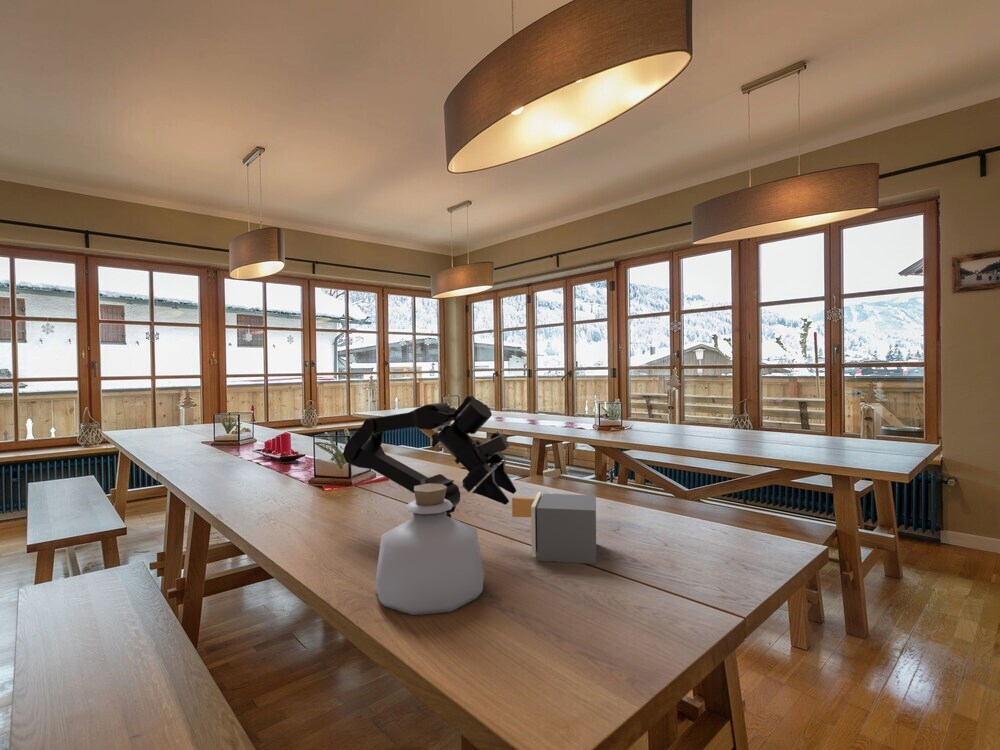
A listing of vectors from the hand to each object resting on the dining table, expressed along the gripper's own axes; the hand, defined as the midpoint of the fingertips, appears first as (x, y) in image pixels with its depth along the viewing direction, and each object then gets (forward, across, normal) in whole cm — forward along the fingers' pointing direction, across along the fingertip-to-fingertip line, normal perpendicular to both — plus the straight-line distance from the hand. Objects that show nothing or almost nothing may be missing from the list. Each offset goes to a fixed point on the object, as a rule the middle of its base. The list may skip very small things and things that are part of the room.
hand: (511, 497), depth 111 cm
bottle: (+1, -23, +16) cm, 28 cm away
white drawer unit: (+13, 0, +2) cm, 14 cm away
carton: (+17, 0, -1) cm, 17 cm away
